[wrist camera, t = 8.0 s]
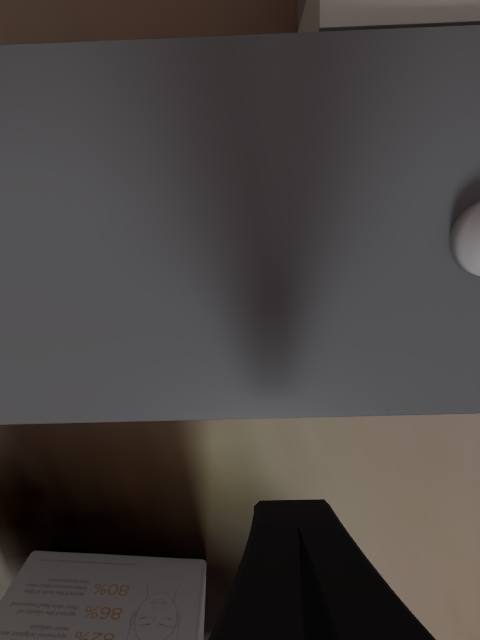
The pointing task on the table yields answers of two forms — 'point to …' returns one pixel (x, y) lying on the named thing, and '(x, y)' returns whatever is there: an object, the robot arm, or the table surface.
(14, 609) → the small box
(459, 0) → the camera door
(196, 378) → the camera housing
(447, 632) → the table surface
